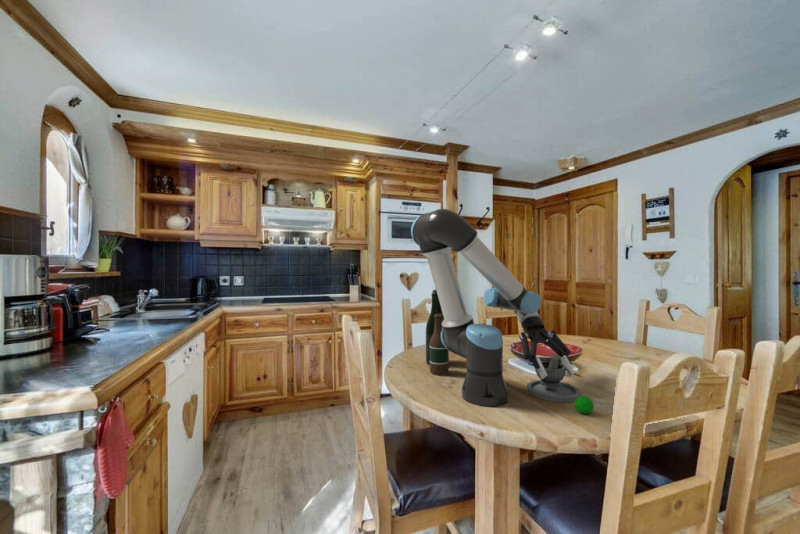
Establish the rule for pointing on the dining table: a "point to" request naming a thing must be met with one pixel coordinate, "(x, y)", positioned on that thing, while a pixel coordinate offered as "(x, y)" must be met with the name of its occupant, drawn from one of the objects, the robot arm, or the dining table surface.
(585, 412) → the polyhedron
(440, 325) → the beer bottle
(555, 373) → the mortar and pestle
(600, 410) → the dining table surface
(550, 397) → the gray plate
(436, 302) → the wine bottle
